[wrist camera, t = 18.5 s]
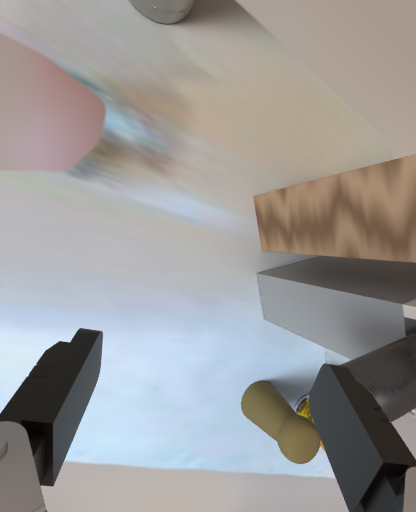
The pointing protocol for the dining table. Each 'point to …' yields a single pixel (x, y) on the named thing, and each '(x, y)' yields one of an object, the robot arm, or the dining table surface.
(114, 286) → the dining table surface
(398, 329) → the grey magazine holder
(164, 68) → the dining table surface
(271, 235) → the tall stand
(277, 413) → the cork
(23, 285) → the dining table surface
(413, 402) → the black gold-banded rod
